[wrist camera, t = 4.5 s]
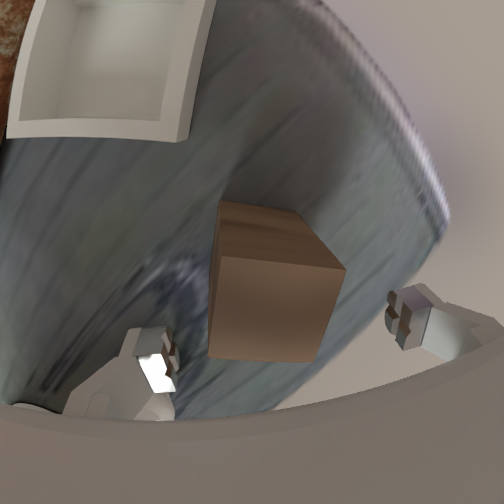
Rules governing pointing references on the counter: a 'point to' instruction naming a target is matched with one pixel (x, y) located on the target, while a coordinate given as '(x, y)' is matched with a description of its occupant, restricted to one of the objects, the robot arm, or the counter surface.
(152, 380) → the robot arm
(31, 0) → the bread
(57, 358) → the counter surface
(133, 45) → the bin
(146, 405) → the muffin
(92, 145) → the counter surface
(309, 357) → the walnut block
